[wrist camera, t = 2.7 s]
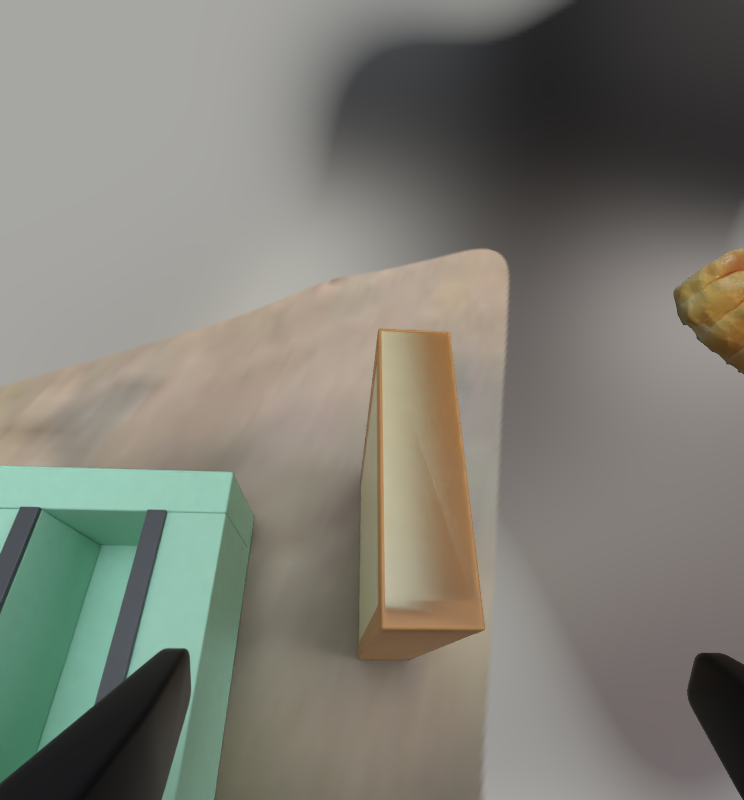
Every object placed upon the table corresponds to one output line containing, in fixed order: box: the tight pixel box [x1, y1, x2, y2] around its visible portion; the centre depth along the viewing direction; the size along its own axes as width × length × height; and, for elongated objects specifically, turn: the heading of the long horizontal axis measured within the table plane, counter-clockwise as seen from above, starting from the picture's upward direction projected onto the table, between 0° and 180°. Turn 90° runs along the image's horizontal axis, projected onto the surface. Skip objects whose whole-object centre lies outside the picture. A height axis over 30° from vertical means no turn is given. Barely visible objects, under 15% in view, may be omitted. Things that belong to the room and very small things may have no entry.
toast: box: [358, 329, 485, 660], centre depth 15 cm, size 8×2×10 cm, turn 0°
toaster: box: [0, 466, 254, 800], centre depth 15 cm, size 12×10×5 cm
